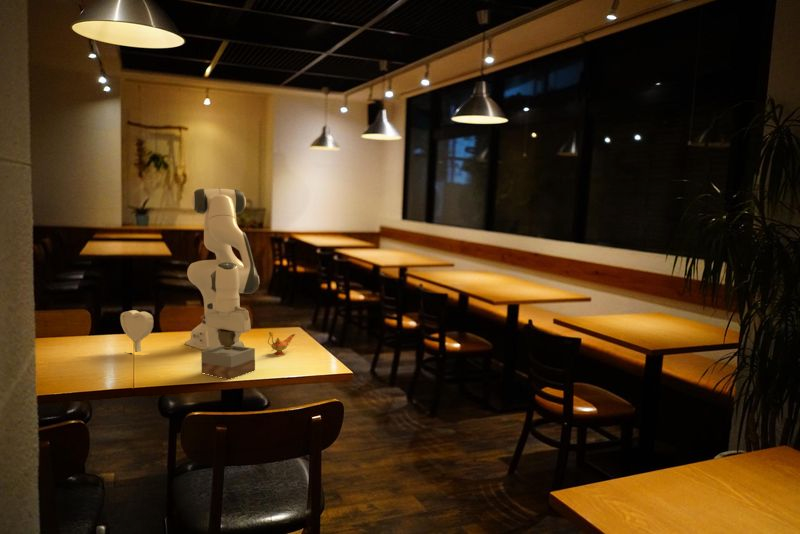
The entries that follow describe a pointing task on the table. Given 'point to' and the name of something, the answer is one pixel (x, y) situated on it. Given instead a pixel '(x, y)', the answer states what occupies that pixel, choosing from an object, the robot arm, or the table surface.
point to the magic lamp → (280, 344)
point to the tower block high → (228, 356)
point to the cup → (226, 338)
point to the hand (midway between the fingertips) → (228, 341)
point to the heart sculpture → (137, 326)
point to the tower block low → (228, 369)
